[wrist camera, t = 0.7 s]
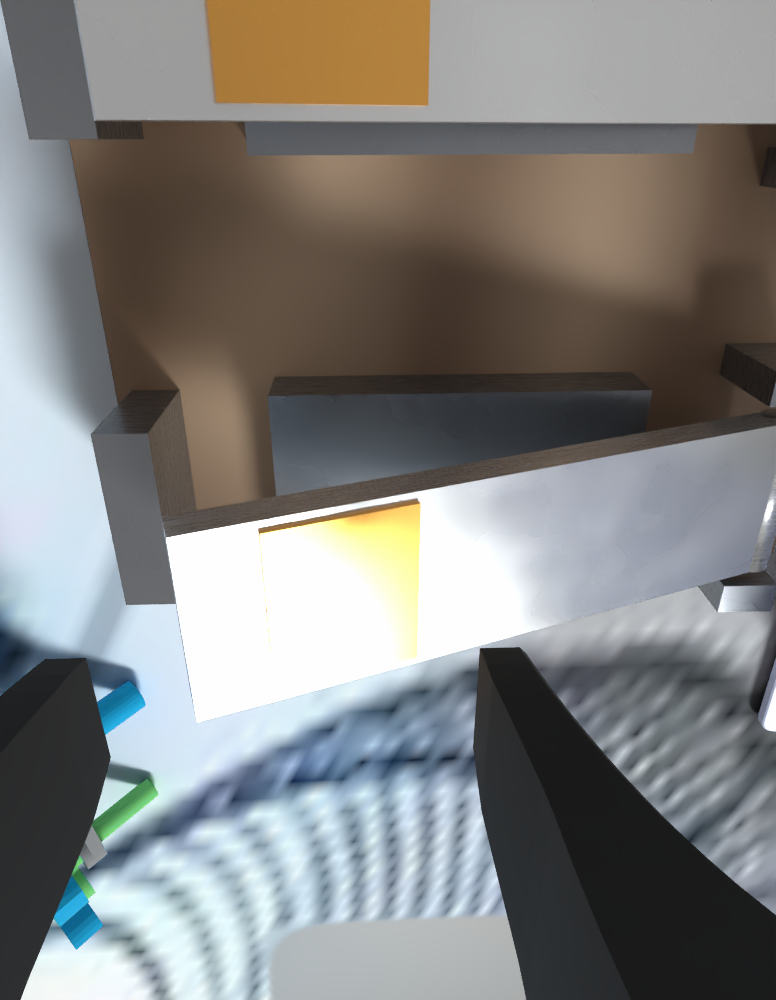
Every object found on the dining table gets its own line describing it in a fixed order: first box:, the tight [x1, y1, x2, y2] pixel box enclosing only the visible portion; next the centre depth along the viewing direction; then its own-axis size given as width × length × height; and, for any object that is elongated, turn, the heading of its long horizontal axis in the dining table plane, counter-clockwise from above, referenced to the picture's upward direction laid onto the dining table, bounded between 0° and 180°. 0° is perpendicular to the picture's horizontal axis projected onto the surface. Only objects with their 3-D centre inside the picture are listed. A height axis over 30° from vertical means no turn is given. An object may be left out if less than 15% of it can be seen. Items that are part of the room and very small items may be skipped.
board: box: [69, 122, 776, 553], centre depth 17 cm, size 18×16×2 cm
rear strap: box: [161, 409, 776, 722], centre depth 15 cm, size 14×4×1 cm, turn 90°
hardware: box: [1, 0, 776, 612], centre depth 15 cm, size 16×16×3 cm
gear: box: [54, 681, 158, 950], centre depth 22 cm, size 11×6×10 cm
